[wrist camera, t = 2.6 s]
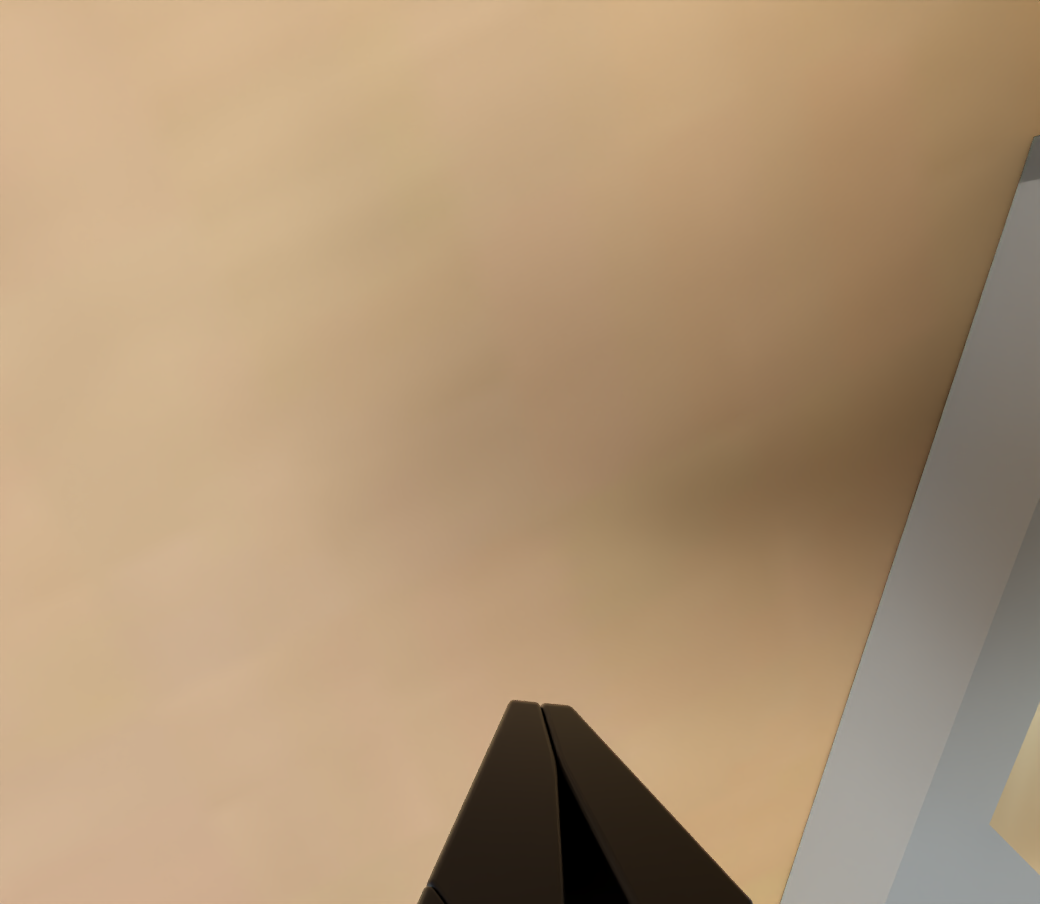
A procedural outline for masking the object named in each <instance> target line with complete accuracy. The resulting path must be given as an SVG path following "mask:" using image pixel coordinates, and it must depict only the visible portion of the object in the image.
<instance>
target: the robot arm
mask: <svg viewBox="0 0 1040 904" xmlns="http://www.w3.org/2000/svg"><path fill="white" fill-rule="evenodd" d="M417 904H753V903H752V901H751V899H750V898H749V897H748V896H747V895H746V894H745V893H744V892H743V891H742V890H741V889H740V888H739V887H738V885H737V884H736V883H735V882H734V881H733V880H732V879H731V878H730V877H729V876H728V875H727V874H726V873H725V871H724V870H723V869H722V868H721V867H720V866H719V865H718V864H717V863H716V862H715V861H714V860H713V859H712V857H711V856H710V855H709V854H708V853H707V852H706V851H705V850H704V849H703V848H702V847H701V846H700V845H699V843H698V842H697V841H696V840H695V839H694V838H693V837H692V836H691V835H690V834H689V833H688V832H687V831H686V829H685V828H684V827H683V826H682V825H681V824H680V823H679V822H678V821H677V820H676V819H675V818H674V817H673V815H672V814H671V813H670V812H669V811H668V810H667V809H666V808H665V807H664V806H663V805H662V804H661V803H660V801H659V800H658V799H657V798H656V797H655V796H654V795H653V794H652V793H651V792H650V791H649V790H648V789H647V787H646V786H645V785H644V784H643V783H642V782H641V781H640V780H639V779H638V778H637V777H636V776H635V775H634V773H633V772H632V771H631V770H630V769H629V768H628V767H627V766H626V765H625V764H624V763H623V762H622V761H621V759H620V758H619V757H618V756H617V755H616V754H615V753H614V752H613V751H612V750H611V749H610V748H609V747H608V745H607V744H606V743H605V742H604V741H603V740H602V739H601V738H600V737H599V736H598V735H597V734H596V733H595V731H594V730H593V729H592V728H591V727H590V726H589V725H588V724H587V723H586V722H585V721H584V720H583V719H582V718H581V716H580V715H579V714H578V713H577V712H576V711H575V710H574V709H573V708H572V707H570V706H568V705H558V704H548V703H544V704H542V705H541V707H540V705H539V704H538V703H536V702H528V701H518V700H512V701H510V703H509V704H508V706H507V708H506V711H505V713H504V715H503V717H502V719H501V722H500V724H499V726H498V728H497V730H496V733H495V735H494V737H493V739H492V741H491V744H490V746H489V748H488V750H487V752H486V755H485V757H484V759H483V761H482V763H481V766H480V768H479V770H478V772H477V774H476V777H475V779H474V781H473V783H472V785H471V788H470V790H469V792H468V794H467V797H466V799H465V801H464V803H463V805H462V808H461V810H460V812H459V814H458V816H457V819H456V821H455V823H454V825H453V827H452V830H451V832H450V834H449V836H448V838H447V841H446V843H445V845H444V847H443V849H442V852H441V854H440V856H439V858H438V860H437V863H436V865H435V867H434V869H433V871H432V874H431V876H430V878H429V880H428V883H427V887H426V888H425V889H424V890H423V892H422V895H421V897H420V899H419V901H418V903H417Z"/></svg>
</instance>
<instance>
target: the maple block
mask: <svg viewBox="0 0 1040 904" xmlns="http://www.w3.org/2000/svg"><path fill="white" fill-rule="evenodd" d="M989 825H990V826H991V827H992V828H993V829H994V830H995V831H996V832H997V833H998V834H999V835H1000V836H1001V837H1002V838H1003V839H1004V840H1005V841H1006V842H1007V843H1008V844H1009V845H1010V846H1011V847H1012V848H1013V849H1014V850H1015V851H1016V852H1017V853H1018V854H1019V855H1020V856H1021V857H1022V858H1023V859H1024V860H1025V861H1026V862H1027V863H1028V864H1029V865H1030V866H1031V867H1032V868H1033V869H1034V870H1035V871H1036V872H1037V873H1038V874H1039V875H1040V703H1039V705H1038V707H1037V710H1036V712H1035V715H1034V717H1033V720H1032V722H1031V724H1030V727H1029V729H1028V732H1027V734H1026V736H1025V739H1024V741H1023V744H1022V746H1021V749H1020V751H1019V753H1018V756H1017V758H1016V761H1015V763H1014V765H1013V768H1012V770H1011V773H1010V775H1009V778H1008V780H1007V782H1006V785H1005V787H1004V790H1003V792H1002V794H1001V797H1000V799H999V802H998V804H997V807H996V809H995V811H994V814H993V816H992V819H991V821H990V824H989Z"/></svg>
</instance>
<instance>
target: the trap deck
mask: <svg viewBox="0 0 1040 904" xmlns="http://www.w3.org/2000/svg"><path fill="white" fill-rule="evenodd" d="M1039 703H1040V135H1038V136H1035V137H1034V138H1033V141H1032V144H1031V147H1030V150H1029V153H1028V156H1027V159H1026V162H1025V165H1024V168H1023V172H1022V175H1021V178H1020V181H1019V184H1018V187H1017V190H1016V193H1015V196H1014V199H1013V202H1012V205H1011V208H1010V211H1009V214H1008V217H1007V220H1006V223H1005V226H1004V229H1003V232H1002V235H1001V238H1000V241H999V244H998V247H997V250H996V253H995V256H994V259H993V262H992V265H991V268H990V271H989V274H988V277H987V280H986V283H985V286H984V289H983V292H982V295H981V298H980V301H979V304H978V307H977V310H976V313H975V317H974V320H973V323H972V326H971V329H970V332H969V335H968V338H967V341H966V344H965V347H964V350H963V353H962V356H961V359H960V362H959V365H958V368H957V371H956V374H955V377H954V380H953V383H952V386H951V389H950V392H949V395H948V398H947V401H946V404H945V407H944V410H943V413H942V416H941V419H940V422H939V425H938V428H937V431H936V434H935V437H934V440H933V443H932V446H931V449H930V452H929V455H928V459H927V462H926V465H925V468H924V471H923V474H922V477H921V480H920V483H919V486H918V489H917V492H916V495H915V498H914V501H913V504H912V507H911V510H910V513H909V516H908V519H907V522H906V525H905V528H904V531H903V534H902V537H901V540H900V543H899V546H898V549H897V552H896V555H895V558H894V561H893V564H892V567H891V570H890V573H889V576H888V579H887V582H886V585H885V588H884V591H883V594H882V597H881V600H880V604H879V607H878V610H877V613H876V616H875V619H874V622H873V625H872V628H871V631H870V634H869V637H868V640H867V643H866V646H865V649H864V652H863V655H862V658H861V661H860V664H859V667H858V670H857V673H856V676H855V679H854V682H853V685H852V688H851V691H850V694H849V697H848V700H847V703H846V706H845V709H844V712H843V715H842V718H841V721H840V724H839V727H838V730H837V733H836V736H835V739H834V742H833V745H832V749H831V752H830V755H829V758H828V761H827V764H826V767H825V770H824V773H823V776H822V779H821V782H820V785H819V788H818V791H817V794H816V797H815V800H814V803H813V806H812V809H811V812H810V815H809V818H808V821H807V824H806V827H805V830H804V833H803V836H802V839H801V842H800V845H799V848H798V851H797V854H796V857H795V860H794V863H793V866H792V869H791V872H790V875H789V878H788V881H787V884H786V887H785V890H784V894H783V897H782V900H781V903H780V904H1040V875H1039V874H1038V873H1037V872H1036V871H1035V870H1034V869H1033V868H1032V867H1031V866H1030V865H1029V864H1028V863H1027V862H1026V861H1025V860H1024V859H1023V858H1022V857H1021V856H1020V855H1019V854H1018V853H1017V852H1016V851H1015V850H1014V849H1013V848H1012V847H1011V846H1010V845H1009V844H1008V843H1007V842H1006V841H1005V840H1004V839H1003V838H1002V837H1001V836H1000V835H999V834H998V833H997V832H996V831H995V830H994V829H993V828H992V827H991V826H990V825H989V824H990V821H991V819H992V816H993V814H994V811H995V809H996V807H997V804H998V802H999V799H1000V797H1001V794H1002V792H1003V790H1004V787H1005V785H1006V782H1007V780H1008V778H1009V775H1010V773H1011V770H1012V768H1013V765H1014V763H1015V761H1016V758H1017V756H1018V753H1019V751H1020V749H1021V746H1022V744H1023V741H1024V739H1025V736H1026V734H1027V732H1028V729H1029V727H1030V724H1031V722H1032V720H1033V717H1034V715H1035V712H1036V710H1037V707H1038V705H1039Z"/></svg>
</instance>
